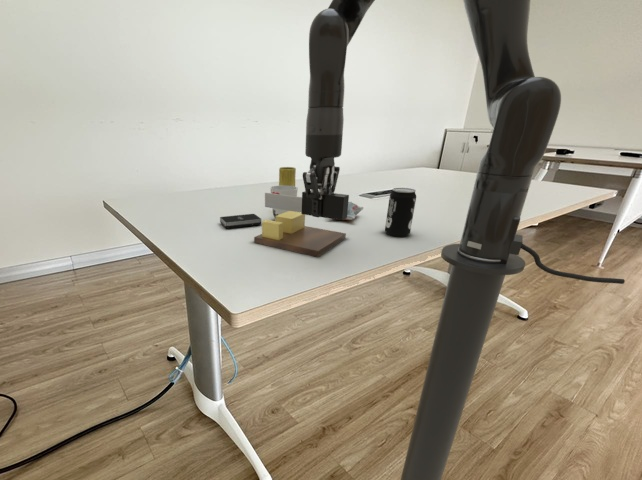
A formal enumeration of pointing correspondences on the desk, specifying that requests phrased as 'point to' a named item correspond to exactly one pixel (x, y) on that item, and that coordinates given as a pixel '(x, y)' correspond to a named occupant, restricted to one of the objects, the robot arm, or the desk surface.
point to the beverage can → (400, 212)
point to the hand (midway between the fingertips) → (320, 214)
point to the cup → (282, 191)
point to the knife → (310, 204)
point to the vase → (287, 176)
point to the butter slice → (272, 229)
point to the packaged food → (352, 211)
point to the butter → (291, 221)
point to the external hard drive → (240, 221)
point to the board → (305, 241)
